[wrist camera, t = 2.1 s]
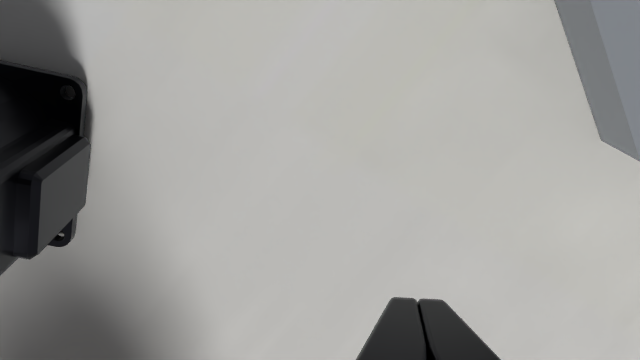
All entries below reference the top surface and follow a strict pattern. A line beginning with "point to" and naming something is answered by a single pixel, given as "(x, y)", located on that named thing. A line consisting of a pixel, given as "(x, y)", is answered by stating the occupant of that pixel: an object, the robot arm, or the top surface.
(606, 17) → the breaker panel
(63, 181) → the robot arm
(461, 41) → the top surface
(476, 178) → the top surface
